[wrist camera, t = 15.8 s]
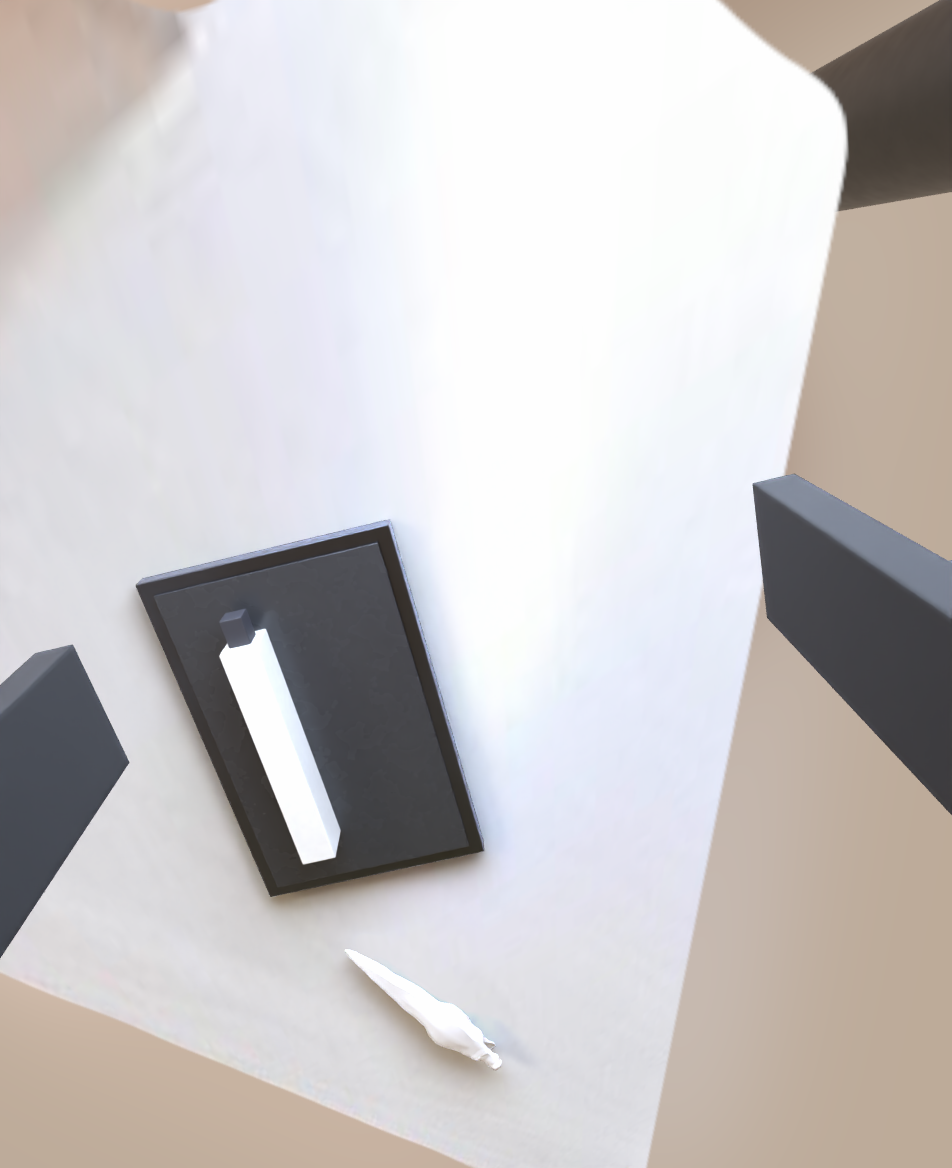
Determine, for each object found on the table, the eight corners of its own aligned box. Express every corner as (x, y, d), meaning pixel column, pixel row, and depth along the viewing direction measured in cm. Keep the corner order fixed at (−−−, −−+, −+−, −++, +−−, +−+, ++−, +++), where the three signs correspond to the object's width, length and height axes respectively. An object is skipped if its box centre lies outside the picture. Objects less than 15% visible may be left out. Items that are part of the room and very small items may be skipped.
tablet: (389, 518, 42) (388, 525, 41) (483, 840, 50) (484, 853, 49) (141, 578, 42) (133, 586, 41) (273, 886, 50) (269, 899, 49)
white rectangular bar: (256, 602, 42) (245, 620, 40) (341, 830, 48) (335, 857, 45) (220, 610, 42) (207, 629, 40) (309, 837, 48) (302, 865, 45)
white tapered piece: (511, 1040, 56) (514, 1064, 54) (485, 1059, 57) (486, 1083, 55) (360, 928, 52) (357, 950, 50) (332, 949, 53) (328, 972, 51)
